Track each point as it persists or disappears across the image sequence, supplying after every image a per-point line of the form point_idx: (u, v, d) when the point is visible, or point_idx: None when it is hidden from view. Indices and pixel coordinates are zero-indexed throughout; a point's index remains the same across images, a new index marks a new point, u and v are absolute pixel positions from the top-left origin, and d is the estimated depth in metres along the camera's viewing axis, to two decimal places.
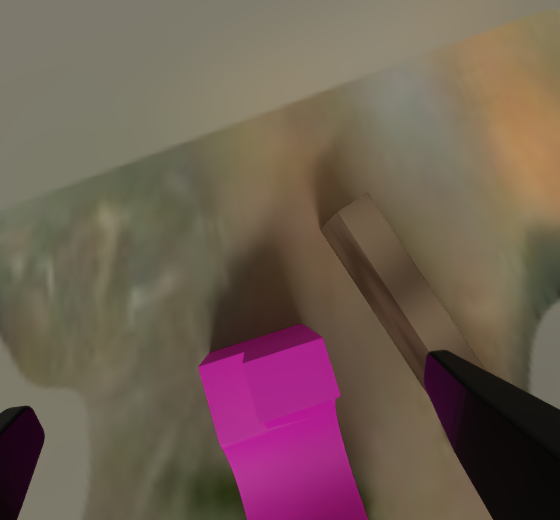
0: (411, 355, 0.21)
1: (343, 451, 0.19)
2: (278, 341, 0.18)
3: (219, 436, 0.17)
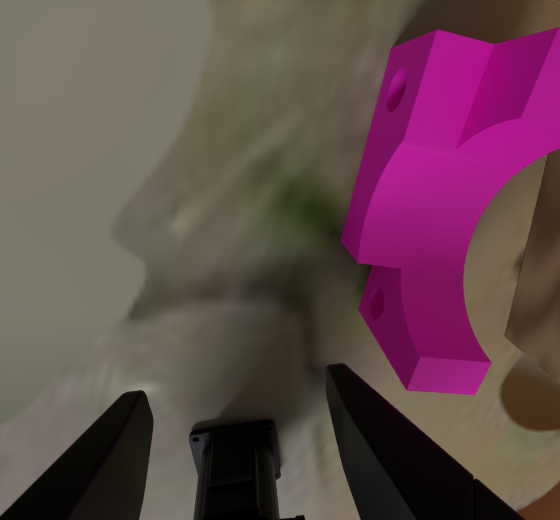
0: None
1: (477, 219, 0.18)
2: None
3: (408, 130, 0.14)
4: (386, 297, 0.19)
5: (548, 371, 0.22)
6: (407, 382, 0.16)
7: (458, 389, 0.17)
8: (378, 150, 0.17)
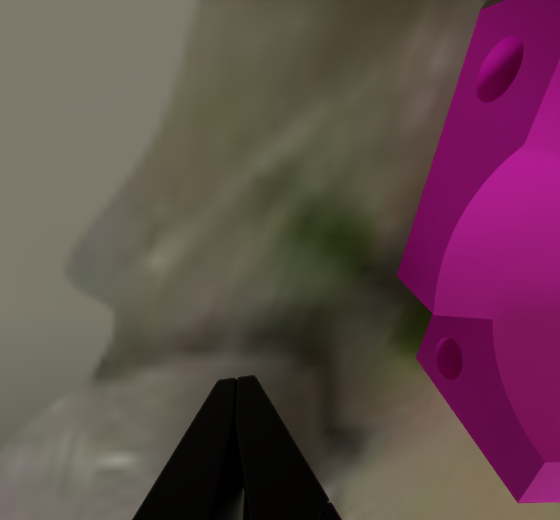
0: None
1: None
2: None
3: (532, 129, 0.09)
4: (465, 354, 0.14)
5: None
6: (518, 491, 0.11)
7: None
8: (464, 158, 0.12)
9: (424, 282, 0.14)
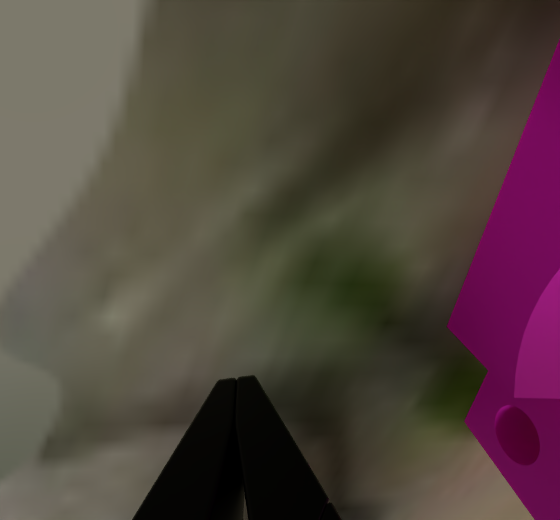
0: None
1: None
2: None
3: None
4: (545, 436, 0.11)
5: None
6: None
7: None
8: None
9: (495, 347, 0.10)
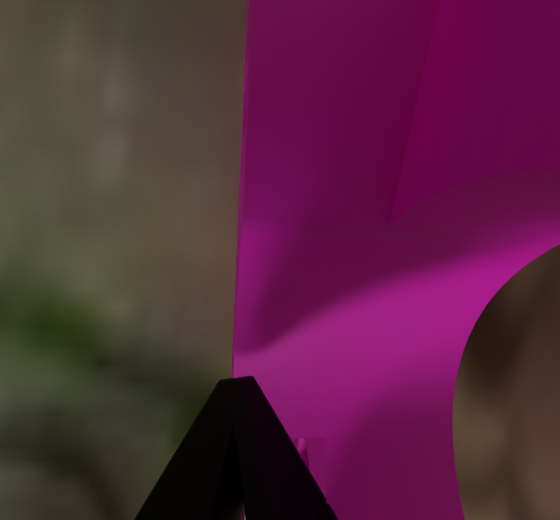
0: (521, 275, 0.10)
1: (469, 327, 0.09)
2: None
3: (249, 192, 0.05)
4: (311, 471, 0.10)
5: None
6: None
7: None
8: (239, 217, 0.08)
9: None
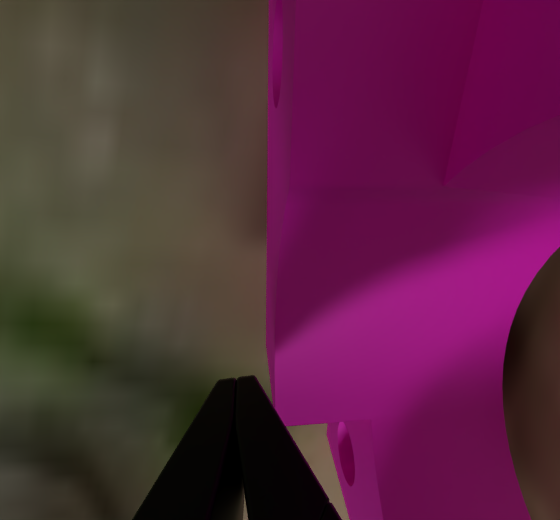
0: None
1: (517, 298, 0.09)
2: None
3: (295, 159, 0.05)
4: (356, 456, 0.10)
5: None
6: None
7: None
8: (274, 195, 0.08)
9: (271, 370, 0.09)
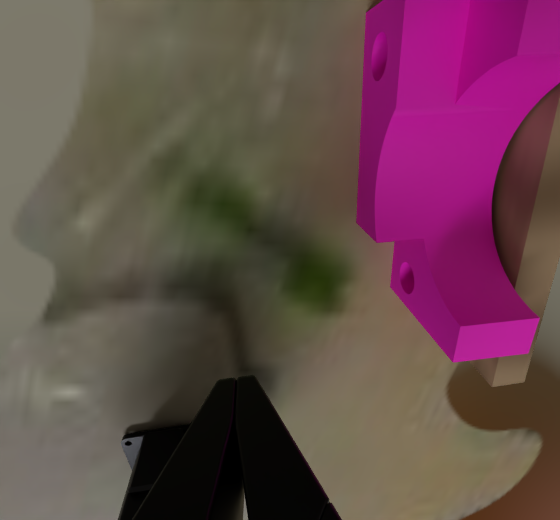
0: None
1: (495, 169, 0.17)
2: None
3: (398, 97, 0.14)
4: (414, 270, 0.19)
5: (480, 371, 0.21)
6: (452, 354, 0.16)
7: (508, 351, 0.16)
8: (374, 123, 0.16)
9: (369, 221, 0.18)
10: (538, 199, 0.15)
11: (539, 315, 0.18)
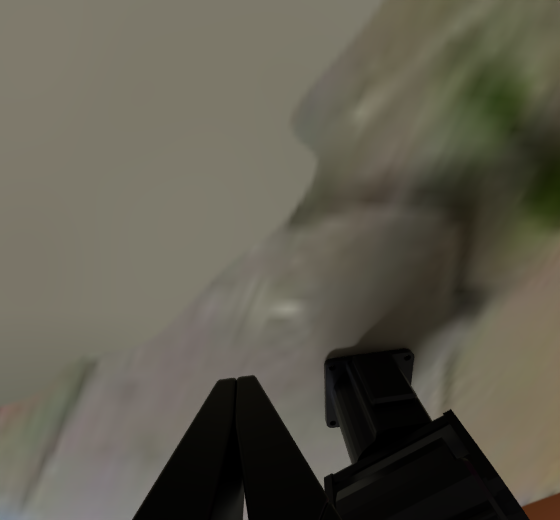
0: None
1: None
2: None
3: None
4: None
5: None
6: None
7: None
8: None
9: None
10: None
11: None
